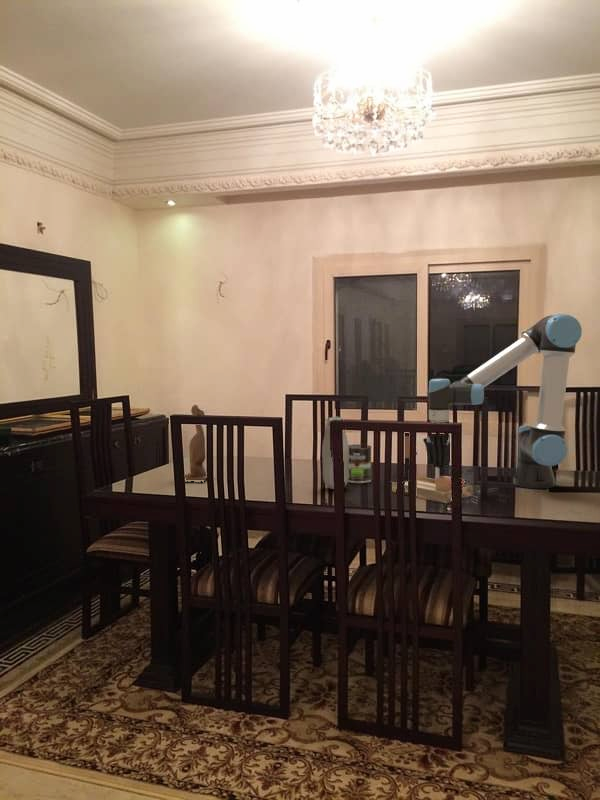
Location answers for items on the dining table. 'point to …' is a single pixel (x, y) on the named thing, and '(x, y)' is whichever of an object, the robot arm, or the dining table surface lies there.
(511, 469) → the dining table surface
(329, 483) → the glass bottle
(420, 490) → the trap lane
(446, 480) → the block
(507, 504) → the dining table surface
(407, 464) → the travel mug
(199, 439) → the bird sculpture
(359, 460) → the coffee can
